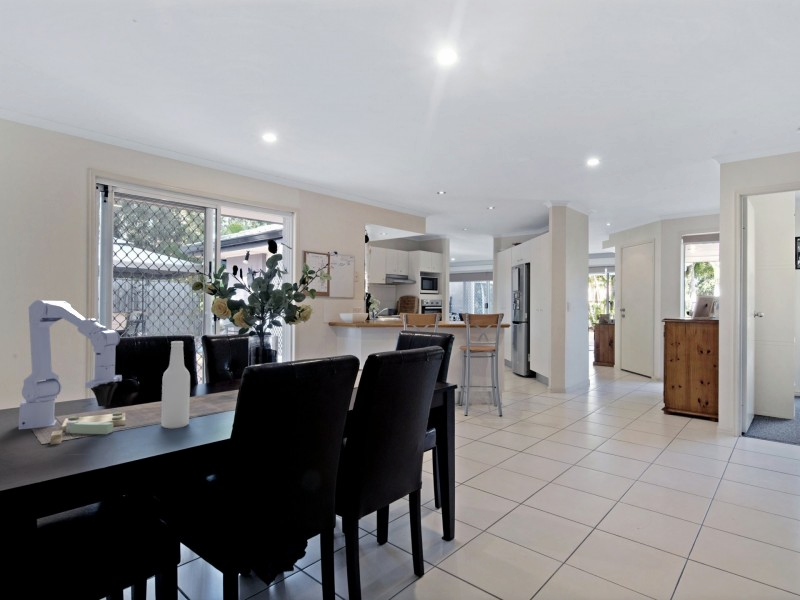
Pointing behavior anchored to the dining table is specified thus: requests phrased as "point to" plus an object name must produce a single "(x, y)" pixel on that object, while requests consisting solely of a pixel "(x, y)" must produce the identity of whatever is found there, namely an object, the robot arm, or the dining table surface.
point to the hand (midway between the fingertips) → (103, 405)
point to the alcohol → (175, 390)
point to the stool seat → (113, 418)
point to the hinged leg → (89, 427)
